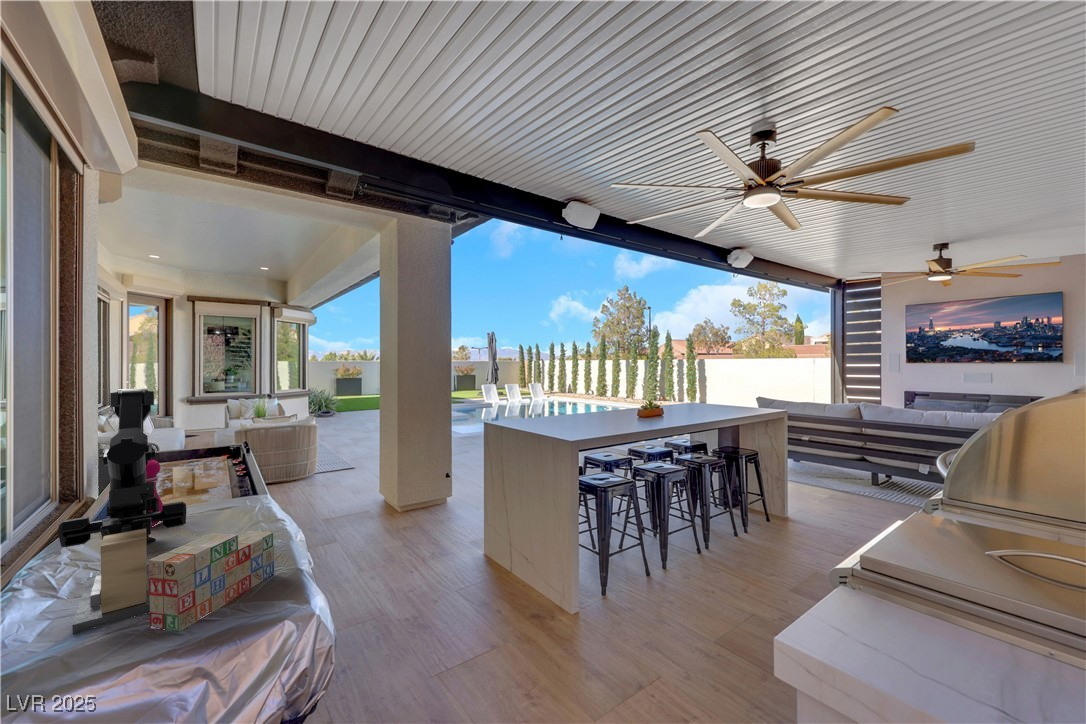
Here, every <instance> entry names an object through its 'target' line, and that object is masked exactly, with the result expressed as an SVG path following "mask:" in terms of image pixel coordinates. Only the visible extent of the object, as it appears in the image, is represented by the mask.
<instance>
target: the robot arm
mask: <svg viewBox="0 0 1086 724" xmlns="http://www.w3.org/2000/svg"><path fill="white" fill-rule="evenodd" d="M152 406H155V391H154V390H149V388H148V387H143V388H121V389H119V388H118V389H117V390H116V391H115V392H109V407H110V408H114V414H115V415H116V417H117V419H118V427H117V429H118V430H117V431H118V432H117V433H116V434H114V435H113V436H112V437H111V438H110V442H109V448H105V451H104V454H103V456H102V457H103V458H102V459H103V460H102V461H103V466H107V468H108V475H109V479H110V480H109V491H108V500H107V502H106V513H105V514H106V517H107V518H103V519H101V521H97V522H90V517H89V516H84V517H83V516H81V517H77V518H70V519H64V520H63V521H61V523H59V525H58V530H57V536H58V539H59V543H60V547H61V548H68V547H69V548H70V547H73V546H80V545H85V544H86V543H87V542H89V541H90V540H91V537H92V536H91V535H92V534H97V533H100V536H101V541H102V540H103V537H104V536H107V535H113V534H118V533H124V532H129V531H135V530H140V529H145V528H146V545H147V544H150V543H153V542H156V540H157V539H156V538H154V537H151V536H150V535H151V534H152V528H151V525H152V523H153V522H159V521H161V524H162V527H164V528H166V529H171V528H177V527H181V526H182V527H183V525H186V523H187V503H186V502H184V501H183V500H182V501H178V502H169V503H164V504H163V505H162V511H160V512H159V499H158V498H156V496H155V493H154V482H146V470H145V469H146V465H148V461H150V460H154V458H156V449H155V448H154V446H153V444H149V441H148V439H149V438H148V437H149V436H148V435H147V434H146V433H144V422H145V421H146V420H147V418H148V417H149V415H150V414H151V413H152ZM150 510H153V511H151V512H149V511H150Z"/></svg>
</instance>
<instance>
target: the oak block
mask: <svg viewBox="0 0 1086 724" xmlns="http://www.w3.org/2000/svg"><path fill="white" fill-rule="evenodd" d="M147 550H148V549H147V544H146V528H145V529H140V530H135V531H129V532H124V533H118V534H113V535H107V536H104V537H103V540H102V539H101V543H100V575H101V614H103V613H106V612H110V611H114V610H118V609H122V608H125V607H129V606H133V605H137V604H141V603H144V602H146V600H147V563H148V562H147V559H148V558H147V557H148V555H147Z"/></svg>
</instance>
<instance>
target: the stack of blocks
mask: <svg viewBox="0 0 1086 724" xmlns="http://www.w3.org/2000/svg"><path fill="white" fill-rule="evenodd" d="M148 564H149V576H150V577H149V579H148V580H149V582H148V583H149V600H150V613H149V627H150V626H153V627H156V628H160V629H165V630H164V631H167V630H172V631H171V632H174V631H177V632H176V633H180V632H182V631H184V630H185V629H186V627H187V626H188V627H190V626H191V624H192V623H193V624H195V623H196V622H195V621H197V620H198V619H200V618H201V617H203V616H205V615H206V614H208V613H210V612H212V611H214V610H216V609H217V610H219V609H221V608H223V607H224V606H225V605H226V604H228V603H230V602H231V601H233V600H234V599H236V598H237V597H239V596H241V595H243V594H244V593H246V592H248V591H249V590H250V589H252V588H254V587H256V586H258V585H259V584H260V582H261V581H262V582H264V581H265V580H264V579H266V578H267V577H269V576H270V575H272V574H273V573H274V574H275V547H274V532H271V531H268V532H267V531H256V530H255V531H254V530H248V531H246V532H243V533H242V534H232V533H231V534H230V533H218V532H217V533H216V532H211V533H209V534H208V533H207V534H206V535H203V536H202V537H199V538H197V539H195V540H192V541H190V542H187V543H185V544H184V545H181V546H179V547H176V548H174V549H172V550H169V551H167V552H164V553H162V554H159V555H157V556H155V557H152V558H151V559H148ZM272 576H273V575H272ZM269 578H270V577H269ZM267 579H268V578H267ZM267 579H266V580H267ZM263 580H264V581H263ZM262 582H261V583H262ZM217 610H216V611H217ZM214 612H215V611H214ZM212 613H213V612H212ZM210 614H211V613H210ZM194 622H195V623H194ZM197 622H198V621H197ZM193 624H192V625H193ZM189 625H190V626H189ZM188 627H187V628H188ZM184 628H185V629H184ZM181 630H182V631H181ZM179 631H180V632H179Z"/></svg>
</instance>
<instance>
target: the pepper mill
mask: <svg viewBox="0 0 1086 724" xmlns="http://www.w3.org/2000/svg"><path fill="white" fill-rule="evenodd" d="M145 470H146V482H154V493H155V496H156V498H158V499H159V512H160V511H162V505H163V501H162V499H161V497H160V496H159V494H158V491H157V482H158V481H159V476H158V474H159V473H160V472H161V465H160V462H158V461H157V460H154V459H152V460H150V461H148V465H146V469H145ZM151 511H153V510H150V511H149V512H151ZM157 523H158V522H153V523H152V525H151V527H152V526H154V525H155V524H157ZM152 528H153V527H152Z"/></svg>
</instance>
